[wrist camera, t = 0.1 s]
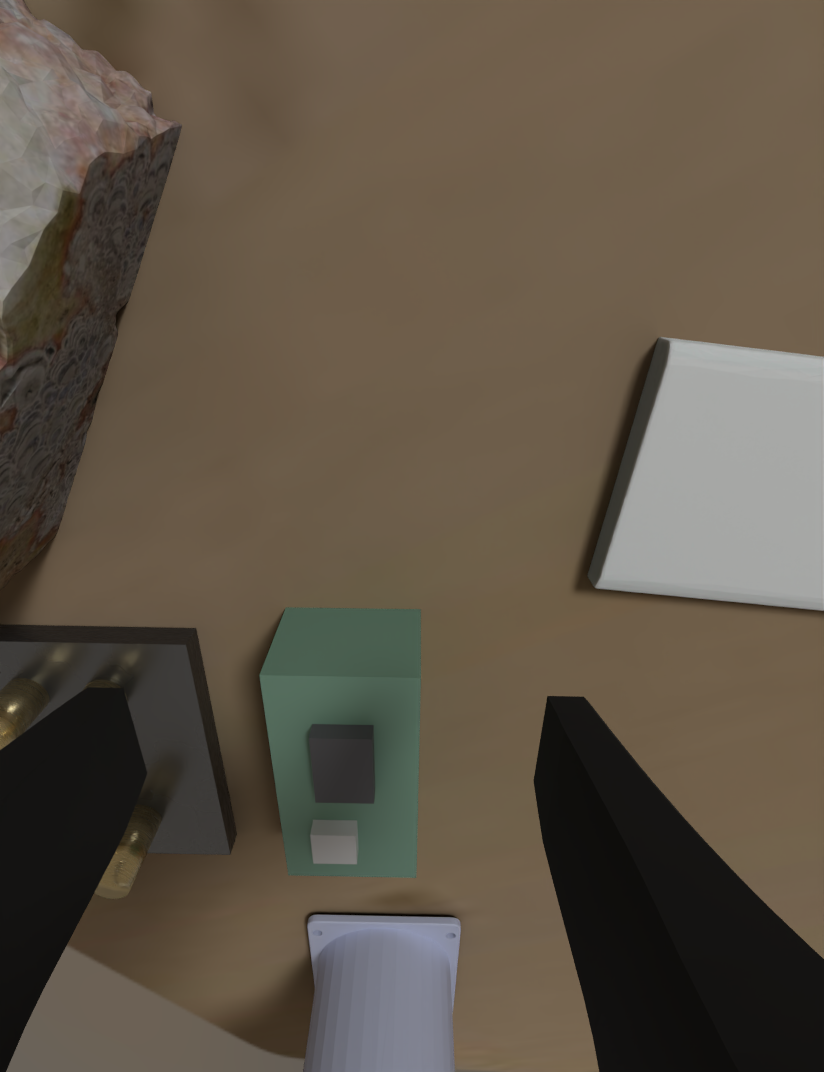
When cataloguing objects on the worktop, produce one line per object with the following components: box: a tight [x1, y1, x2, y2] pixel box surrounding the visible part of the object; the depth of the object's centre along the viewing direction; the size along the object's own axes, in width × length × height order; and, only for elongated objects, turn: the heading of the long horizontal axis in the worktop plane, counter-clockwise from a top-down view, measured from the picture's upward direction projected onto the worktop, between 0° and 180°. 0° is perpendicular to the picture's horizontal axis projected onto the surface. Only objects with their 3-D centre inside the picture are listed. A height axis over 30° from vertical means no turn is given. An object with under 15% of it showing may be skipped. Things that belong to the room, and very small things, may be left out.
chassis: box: [0, 625, 237, 899], centre depth 22 cm, size 12×10×4 cm
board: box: [259, 608, 421, 878], centre depth 21 cm, size 10×5×5 cm, turn 179°
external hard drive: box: [588, 337, 824, 611], centre depth 18 cm, size 2×8×12 cm
